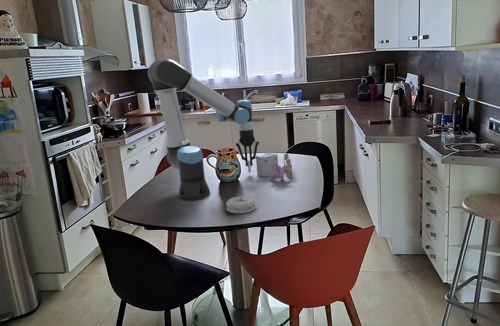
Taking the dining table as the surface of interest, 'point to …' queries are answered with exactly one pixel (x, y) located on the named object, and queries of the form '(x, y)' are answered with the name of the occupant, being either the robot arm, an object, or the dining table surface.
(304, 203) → the dining table surface
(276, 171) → the lily
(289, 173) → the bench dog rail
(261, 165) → the light bulb box
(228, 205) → the lid
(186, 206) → the dining table surface
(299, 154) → the dining table surface
